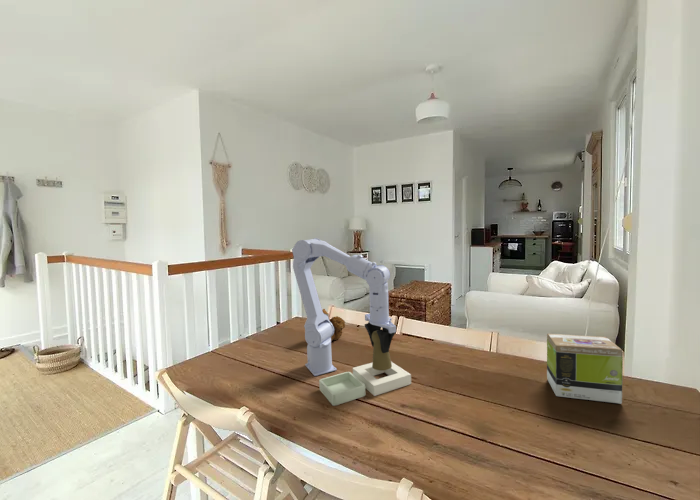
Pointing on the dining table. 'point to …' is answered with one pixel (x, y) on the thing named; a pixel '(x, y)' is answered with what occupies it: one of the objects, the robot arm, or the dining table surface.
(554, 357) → the tea box
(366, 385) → the holder
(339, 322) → the stuffed squirrel
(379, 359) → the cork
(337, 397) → the tray
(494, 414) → the dining table surface
